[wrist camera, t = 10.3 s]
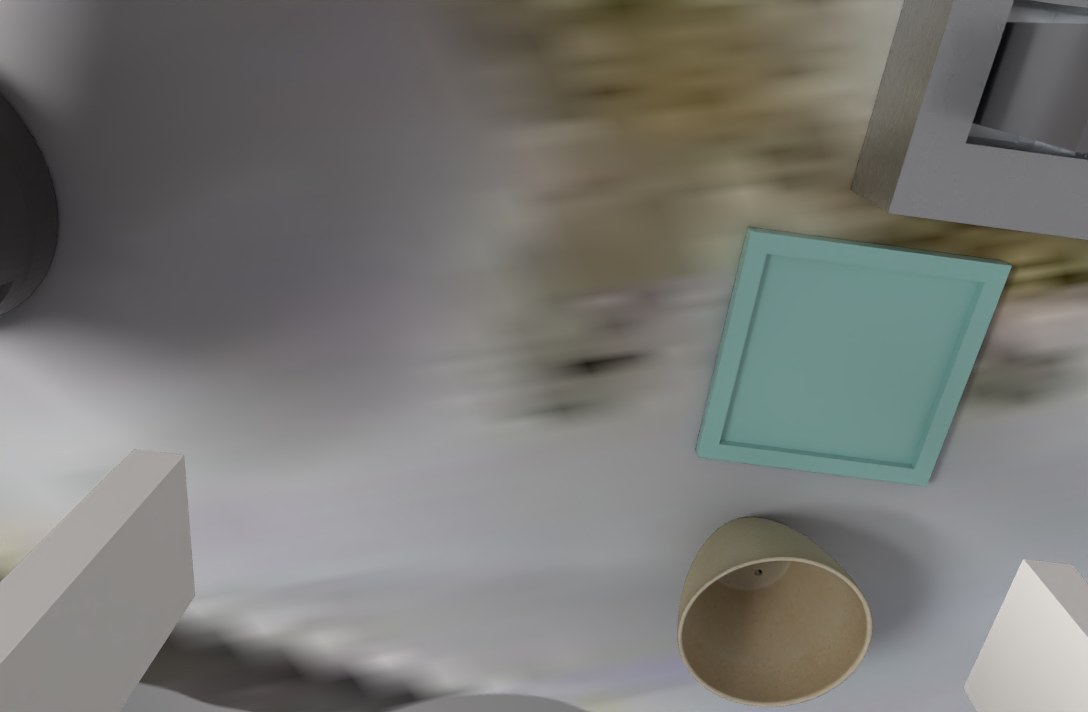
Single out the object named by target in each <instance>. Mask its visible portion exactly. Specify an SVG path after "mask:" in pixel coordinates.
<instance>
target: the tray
mask: <svg viewBox="0 0 1088 712" xmlns="http://www.w3.org/2000/svg"><path fill="white" fill-rule="evenodd" d="M1011 267H1012V266H1011V265H1009V264H1008V263H1006V262H1004V261H1002V260H994V259H987V258H979V257H972V256H964V255H957V254H949V253H942V252H934V251H927V250H919V249H912V248H904V247H896V246H889V245H881V244H874V243H866V242H859V241H851V240H844V239H836V238H829V237H821V236H814V235H806V234H798V233H791V232H783V231H776V230H768V229H761V228H753V227H748V229H747V233H746V237H745V241H744V246H743V250H742V254H741V258H740V262H739V267H738V271H737V275H736V279H735V284H734V288H733V292H732V296H731V300H730V305H729V309H728V313H727V317H726V322H725V326H724V330H723V334H722V338H721V343H720V347H719V351H718V355H717V360H716V364H715V368H714V372H713V376H712V381H711V385H710V389H709V393H708V398H707V402H706V406H705V410H704V414H703V419H702V423H701V427H700V431H699V436H698V440H697V444H696V448H695V450H696V453H697V457H699V458H707V459H715V460H723V461H731V462H739V463H746V464H754V465H762V466H770V467H778V468H785V469H793V470H801V471H809V472H817V473H825V474H832V475H840V476H848V477H856V478H864V479H871V480H879V481H887V482H895V483H903V484H911V485H918V486H926V487H927V484H928V481H929V479H930V476H931V474H932V471H933V468H934V466H935V463H936V461H937V458H938V456H939V453H940V450H941V448H942V445H943V443H944V440H945V437H946V435H947V432H948V430H949V427H950V425H951V422H952V419H953V417H954V414H955V412H956V409H957V406H958V404H959V401H960V399H961V396H962V394H963V391H964V388H965V386H966V383H967V381H968V378H969V375H970V373H971V370H972V368H973V365H974V362H975V360H976V357H977V355H978V352H979V350H980V347H981V344H982V342H983V339H984V337H985V334H986V331H987V329H988V326H989V324H990V321H991V319H992V316H993V313H994V311H995V308H996V306H997V303H998V300H999V298H1000V295H1001V293H1002V290H1003V288H1004V285H1005V282H1006V280H1007V277H1008V275H1009V272H1010V269H1011Z"/></svg>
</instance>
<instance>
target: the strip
mask: <svg viewBox="0 0 1088 712" xmlns="http://www.w3.org/2000/svg"><path fill="white" fill-rule="evenodd" d="M1006 22H1031V23H1077V24H1088V0H905V1H904V4H903V8H902V11H901V15H900V18H899V22H898V25H897V29H896V32H895V36H894V39H893V43H892V46H891V50H890V53H889V57H888V60H887V64H886V67H885V71H884V74H883V78H882V81H881V85H880V88H879V92H878V95H877V98H876V102H875V105H874V109H873V112H872V116H871V119H870V123H869V126H868V130H867V133H866V137H865V140H864V144H863V147H862V151H861V154H860V158H859V161H858V165H857V168H856V172H855V175H854V179H853V182H852V186H851V190H853V191H854V192H856V193H857V194H859V195H860V196H862V197H864V198H865V199H867V200H868V201H870V202H871V203H873V204H874V205H876V206H878V207H879V208H881V209H882V210H884V211H885V212H887V213H890V214H897V215H905V216H912V217H920V218H927V219H935V220H942V221H950V222H957V223H965V224H972V225H980V226H987V227H995V228H1002V229H1010V230H1017V231H1025V232H1032V233H1040V234H1047V235H1055V236H1062V237H1070V238H1077V239H1085V240H1088V153H1081V152H1074V151H1070V150H1067V149H1063V148H1060V147H1056V146H1053V145H1049V144H1045V143H1042V142H1038V141H1035V140H1031V139H1027V138H1024V137H1020V136H1017V135H1013V134H1010V133H1006V132H1002V131H999V130H995V129H992V128H988V127H984V126H981V125H977V124H974V123H973V120H974V117H975V114H976V111H977V108H978V105H979V102H980V99H981V96H982V93H983V90H984V87H985V84H986V81H987V79H988V76H989V73H990V70H991V67H992V64H993V61H994V58H995V55H996V52H997V49H998V46H999V43H1000V40H1001V37H1002V34H1003V31H1004V28H1005V25H1006Z"/></svg>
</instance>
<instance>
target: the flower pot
mask: <svg viewBox="0 0 1088 712" xmlns="http://www.w3.org/2000/svg"><path fill="white" fill-rule="evenodd" d="M759 570H761V571H762V572H759ZM872 630H873V624H872V615H871V611H870V608H869V605H868V603H867V601H866V599H865V597H864V595H863V594H862V592H861V591H860V589H859V588H858V586H857V585H856V584H855V582H854V581H853V580H852V578H851V577H850V576H849V575H848V573H847V572H846V571H845V570H844V569H843V568H842V567H841V566H840V564H839V563H838V562H837V561H836V560H835V559H834V558H832V557H831V556H830V555H829V554H828V553H827V552H826V551H825V550H824V549H822V548H821V547H820V546H819V545H817V544H816V543H815V542H813V541H812V540H811V539H809V538H808V537H806V536H804V535H803V534H801V533H799V532H798V531H796V530H794V529H792V528H790V527H788V526H786V525H783V524H781V523H778V522H775V521H772V520H768V519H763V518H756V517H746V518H740V519H736V520H733V521H730V522H728V523H726V524H725V525H723V526H721V527H720V528H719V529H718V530H717V531H715V532H714V533H713V534H712V535H711V536H710V537H709V539H708V540H707V541H706V542H705V543H704V545H703V546H702V548H701V549H700V550H699V552H698V554H697V556H696V558H695V559H694V561H693V563H692V565H691V568H690V570H689V573H688V575H687V578H686V581H685V584H684V587H683V591H682V596H681V601H680V606H679V615H678V646H679V651H680V655H681V658H682V660H683V662H684V664H685V666H686V668H687V669H688V671H689V672H690V673H691V675H692V676H693V677H694V678H695V679H696V680H697V681H698V682H699V683H700V684H701V685H702V686H704V687H705V688H706V689H708V690H709V691H711V692H713V693H714V694H716V695H718V696H720V697H722V698H725V699H727V700H730V701H733V702H736V703H740V704H745V705H751V706H759V707H780V706H788V705H793V704H797V703H802V702H806V701H808V700H811V699H814V698H816V697H819V696H821V695H823V694H825V693H827V692H829V691H830V690H832V689H834V688H835V687H837V686H838V685H840V684H841V683H842V682H843V681H845V680H846V679H847V678H848V677H849V676H850V675H851V674H852V673H853V672H854V671H855V670H856V669H857V667H858V666H859V665H860V663H861V662H862V660H863V659H864V657H865V655H866V653H867V651H868V648H869V646H870V642H871V638H872Z"/></svg>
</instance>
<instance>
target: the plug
mask: <svg viewBox="0 0 1088 712" xmlns="http://www.w3.org/2000/svg"><path fill="white" fill-rule="evenodd" d="M973 123H974V124H977V125H981V126H984V127H988V128H992V129H995V130H999V131H1002V132H1006V133H1010V134H1013V135H1017V136H1020V137H1024V138H1027V139H1031V140H1035V141H1038V142H1042V143H1045V144H1049V145H1053V146H1056V147H1060V148H1063V149H1067V150H1070V151H1074V152H1081V153H1088V24H1077V23H1031V22H1006V25H1005V28H1004V31H1003V34H1002V37H1001V40H1000V43H999V46H998V49H997V52H996V55H995V58H994V61H993V64H992V67H991V70H990V73H989V76H988V79H987V81H986V84H985V87H984V90H983V93H982V96H981V99H980V102H979V105H978V108H977V111H976V114H975V117H974V120H973Z"/></svg>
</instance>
